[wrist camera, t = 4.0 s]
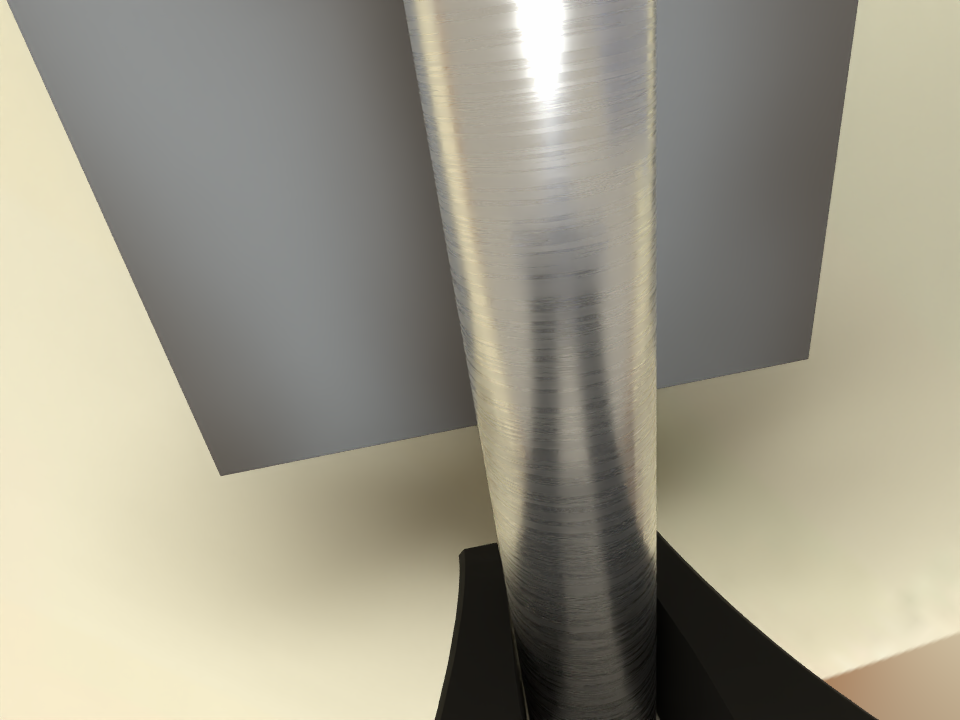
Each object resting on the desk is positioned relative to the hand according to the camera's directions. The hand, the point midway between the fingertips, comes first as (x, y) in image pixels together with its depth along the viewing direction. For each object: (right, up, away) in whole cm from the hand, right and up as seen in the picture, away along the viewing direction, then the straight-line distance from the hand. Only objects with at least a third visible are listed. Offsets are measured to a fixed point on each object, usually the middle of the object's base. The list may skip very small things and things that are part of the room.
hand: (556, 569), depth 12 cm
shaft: (-1, +8, -5) cm, 9 cm away
